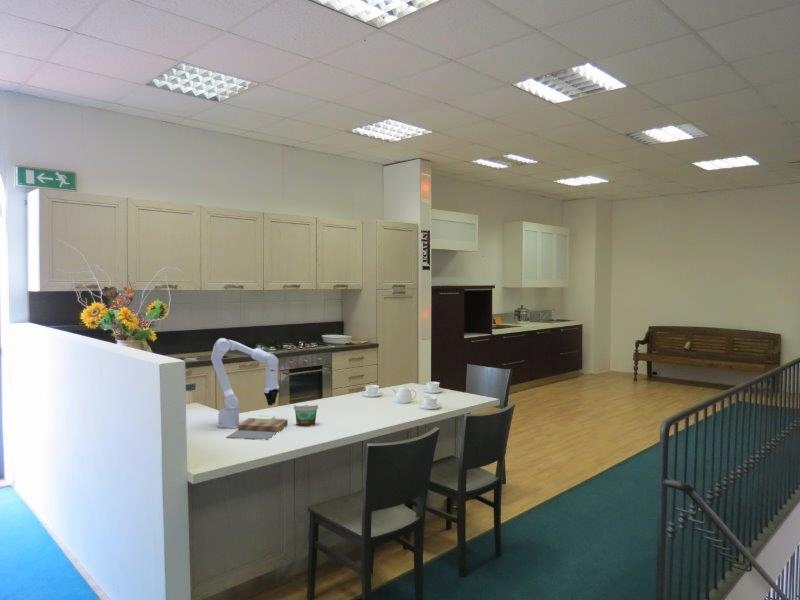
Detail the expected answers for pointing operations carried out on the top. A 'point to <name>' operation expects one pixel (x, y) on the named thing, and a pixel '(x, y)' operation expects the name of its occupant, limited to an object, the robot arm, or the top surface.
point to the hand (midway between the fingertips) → (271, 404)
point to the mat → (251, 434)
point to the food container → (305, 415)
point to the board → (263, 425)
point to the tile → (264, 419)
